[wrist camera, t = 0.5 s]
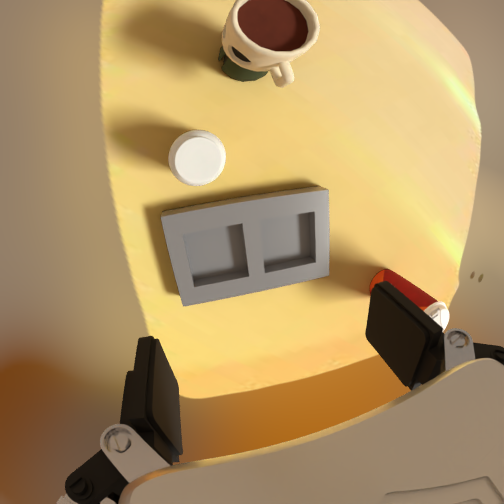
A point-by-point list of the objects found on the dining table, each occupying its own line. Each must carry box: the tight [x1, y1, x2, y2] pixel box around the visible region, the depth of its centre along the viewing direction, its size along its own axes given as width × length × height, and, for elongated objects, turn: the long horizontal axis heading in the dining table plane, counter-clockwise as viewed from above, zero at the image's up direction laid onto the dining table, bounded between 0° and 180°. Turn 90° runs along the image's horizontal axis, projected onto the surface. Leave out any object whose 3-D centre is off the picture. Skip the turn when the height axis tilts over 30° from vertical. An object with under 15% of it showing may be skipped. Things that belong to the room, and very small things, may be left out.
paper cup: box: [370, 269, 449, 332], centre depth 38 cm, size 8×8×14 cm
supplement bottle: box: [168, 130, 226, 186], centre depth 26 cm, size 5×5×10 cm
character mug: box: [218, 0, 320, 87], centre depth 21 cm, size 11×7×13 cm, turn 19°
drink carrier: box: [161, 186, 329, 306], centre depth 35 cm, size 12×20×2 cm, turn 97°
